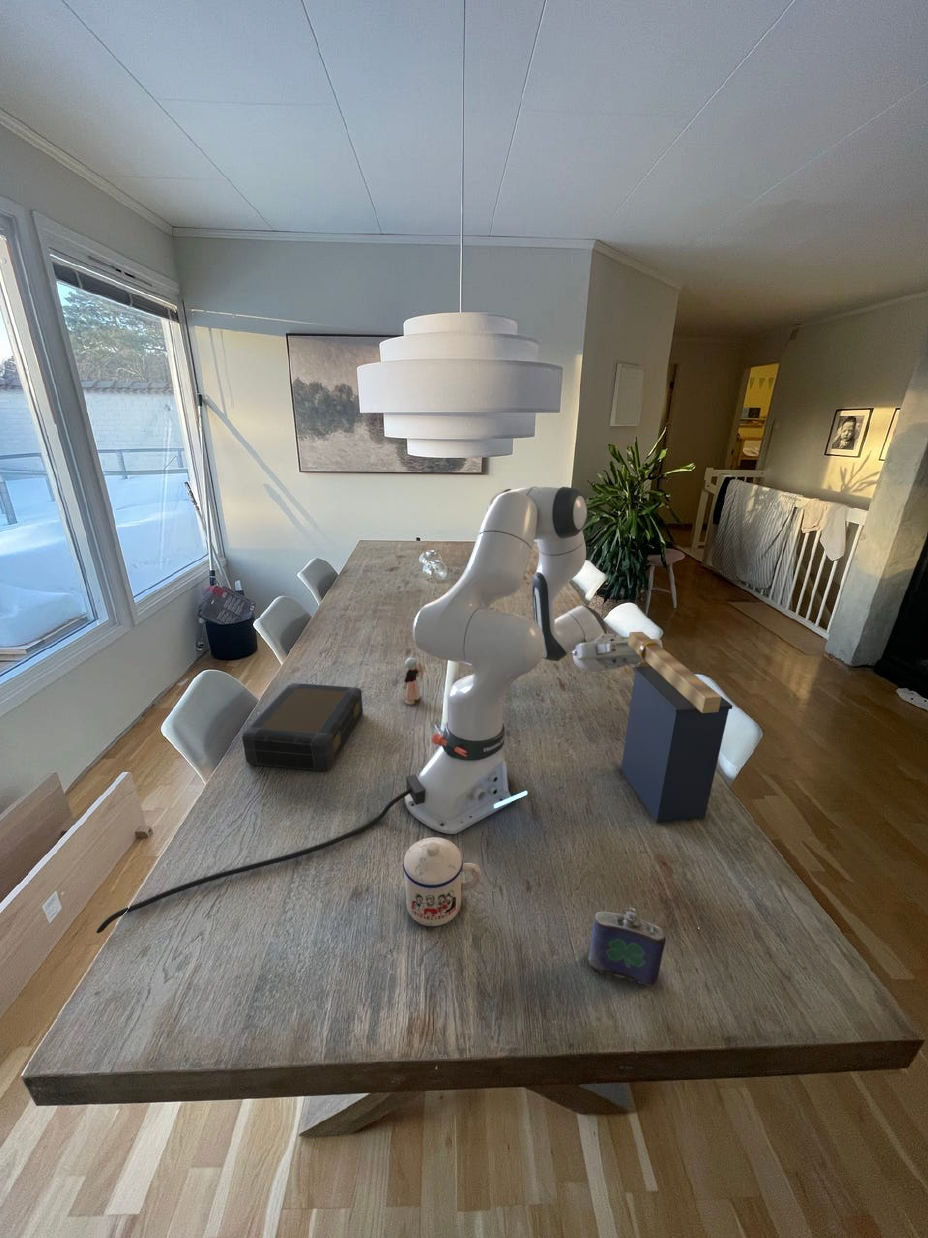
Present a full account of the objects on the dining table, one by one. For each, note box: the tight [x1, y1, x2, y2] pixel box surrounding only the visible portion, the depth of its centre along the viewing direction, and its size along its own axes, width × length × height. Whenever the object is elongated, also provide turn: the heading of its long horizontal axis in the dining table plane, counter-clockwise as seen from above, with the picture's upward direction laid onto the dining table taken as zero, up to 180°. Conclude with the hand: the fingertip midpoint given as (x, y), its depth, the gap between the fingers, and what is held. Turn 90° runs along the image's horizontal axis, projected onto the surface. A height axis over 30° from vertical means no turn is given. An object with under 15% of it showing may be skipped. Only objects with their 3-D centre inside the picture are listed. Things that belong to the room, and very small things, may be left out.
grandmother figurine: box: [402, 657, 421, 706], centre depth 138 cm, size 8×4×13 cm, turn 169°
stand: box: [620, 663, 733, 823], centre depth 101 cm, size 17×11×25 cm, turn 8°
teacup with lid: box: [402, 836, 482, 927], centre depth 79 cm, size 12×9×12 cm
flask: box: [587, 906, 667, 987], centre depth 70 cm, size 9×3×11 cm, turn 72°
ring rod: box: [628, 631, 722, 713], centre depth 101 cm, size 29×4×4 cm, turn 8°
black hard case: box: [241, 682, 364, 772], centre depth 122 cm, size 25×20×8 cm
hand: (632, 646), depth 115 cm, fingers open, 8 cm apart
